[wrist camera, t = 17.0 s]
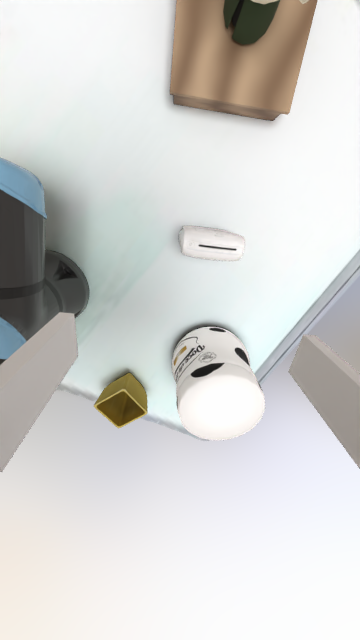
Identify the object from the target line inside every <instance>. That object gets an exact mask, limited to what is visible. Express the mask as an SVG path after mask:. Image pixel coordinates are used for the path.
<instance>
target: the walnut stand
mask: <svg viewBox="0 0 360 640" xmlns="http://www.w3.org/2000/svg"><path fill="white" fill-rule="evenodd" d="M224 1H225V0H177V3H176V17H175V30H174V44H173V57H172V71H171V84H170V94H172V95H174V104H176V105H182V106H188V107H194V108H200V109H206V110H212V111H218V112H223V113H229V114H235V115H241V116H247V117H253V118H259V119H265V120H270V121H273V120H274V119H275V118H276V117H277V116H278V115H280V114H288V113H289V112H290V108H291V104H292V100H293V96H294V92H295V88H296V84H297V80H298V76H299V72H300V68H301V64H302V60H303V56H304V52H305V48H306V44H307V40H308V36H309V32H310V28H311V24H312V20H313V16H314V12H315V8H316V4H317V0H309V1H308V2H306V3H304V4H302V3H301V2H300V0H280V2H279V5H278V8H277V11H276V13H275V16H274V18H273V20H272V22H271V24H270V26H269V28H268V29H267V31H266V33H265V34H264V35H263V36H262V37H261V38H260V39H258V40H257V41H256V42H255V43H252V44H245V45H243V44H241V43H239V42H237V41H235V40H233V38H232V35H233V32H234V29H235V27H234V26H233V23H232V20H231V21H230V24H229V26H228V29H227V28H226V26H225V20H224V13H223V9H224Z"/></svg>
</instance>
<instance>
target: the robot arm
mask: <svg viewBox="0 0 360 640" xmlns="http://www.w3.org/2000/svg"><path fill="white" fill-rule="evenodd" d="M45 219H47V215H46V213H45V201H44V189H43V186H42V184H41V182H40V181H39V179H38V178H37V177H36V176H35V175H34V174H32V173H31V172H29V171H28V170H26V169H24V168H22V167H20V166H18V165H16V164H14V163H12V162H9V161H7V160H5V159H3V158H1V157H0V472H2V471H3V470H4V468H5V467H6V465H7V463H8V462H9V460H10V459H11V458H12V456H13V455H14V452H15V451H16V450H17V448H18V447H19V445H20V444H21V442H22V441H23V439H24V438H25V436H26V435H27V433H28V432H29V430H30V429H31V427H32V425H33V424H34V422H35V421H36V419H37V418H38V416H39V415H40V413H41V412H42V410H43V409H44V407H45V406H46V404H47V403H48V401H49V400H50V398H51V396H52V395H53V393H54V391H55V390H56V389H57V387H58V386H59V384H60V383H61V381H62V380H63V378H64V377H65V375H66V374H67V372H68V371H69V369H70V367H71V366H72V364H73V363H74V361H75V360H76V358H77V357H78V349H77V338H76V327H75V318H76V317H77V316H78V315H79V314H80V313H81V312H82V311H83V310H84V309H85V307H86V305H87V303H88V299H89V287H88V283H87V280H86V278H85V276H84V274H83V272H82V271H81V270H80V268H79V267H78V266H77V265H76V264H75V263H74V262H73V261H72V260H70V259H69V258H67V257H66V256H64V255H62V254H60V253H57V252H54V251H50V250H45ZM289 373H290V375H291V376H292V377H293V379H294V380H295V381H296V383H297V384H298V386H299V387H300V388H301V390H302V391H303V392H304V394H305V395H306V396H307V398H308V399H309V401H310V402H311V403H312V405H313V406H314V407H315V409H316V410H317V411H318V413H319V414H320V415H321V417H322V418H323V420H324V421H325V422H326V424H327V425H328V426H329V428H330V429H331V430H332V432H333V433H334V435H335V436H336V437H337V439H338V440H339V441H340V443H341V444H342V445H343V447H344V448H345V449H346V451H347V452H348V454H349V455H350V456H351V458H352V459H353V460H354V462H355V463H356V464H357V466H358V467H359V468H360V373H359V372H358V371H357V370H356V369H354V368H353V367H352V366H351V365H350V364H348V363H347V362H346V361H345V360H344V359H343V358H341V357H340V356H339V355H338V354H337V353H335V352H334V351H333V350H332V349H331V348H330V347H328V346H327V345H326V344H325V343H324V342H323V341H321V340H320V339H319V338H318V337H317V336H315V335H304V334H303V337H302V339H301V342H300V344H299V347H298V349H297V352H296V354H295V357H294V359H293V362H292V364H291V366H290V369H289Z"/></svg>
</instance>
